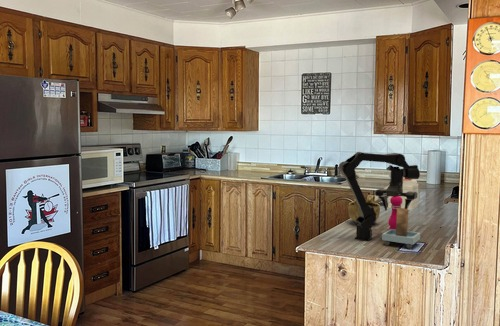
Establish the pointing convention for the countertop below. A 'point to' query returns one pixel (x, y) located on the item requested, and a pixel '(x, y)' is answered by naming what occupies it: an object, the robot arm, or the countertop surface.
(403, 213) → the walnut post
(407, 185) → the cream watering can
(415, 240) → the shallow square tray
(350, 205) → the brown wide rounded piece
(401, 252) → the countertop surface
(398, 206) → the pepper mill
